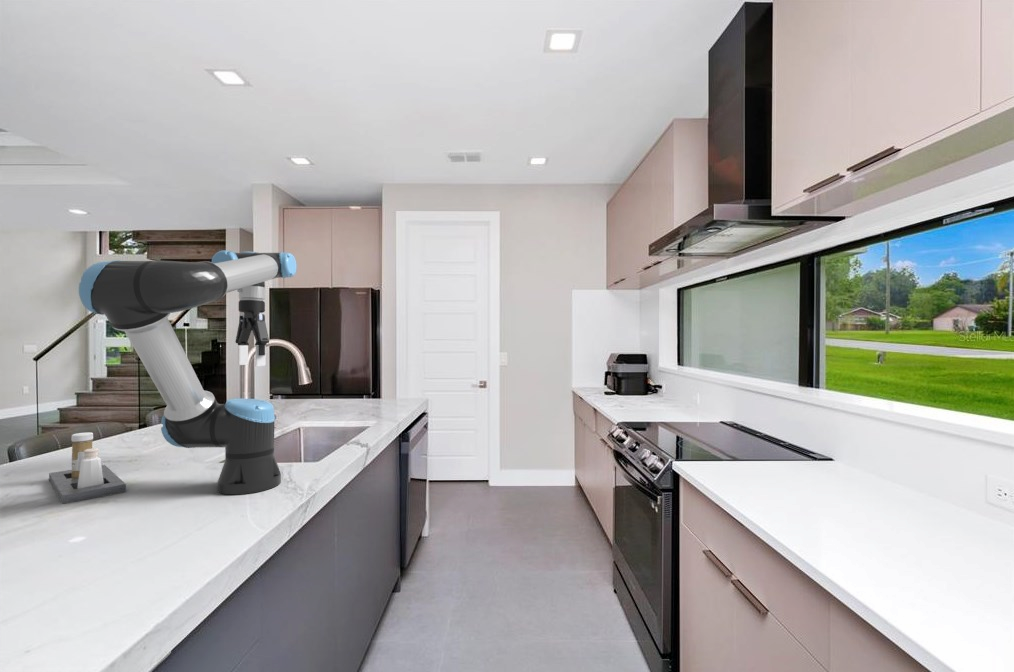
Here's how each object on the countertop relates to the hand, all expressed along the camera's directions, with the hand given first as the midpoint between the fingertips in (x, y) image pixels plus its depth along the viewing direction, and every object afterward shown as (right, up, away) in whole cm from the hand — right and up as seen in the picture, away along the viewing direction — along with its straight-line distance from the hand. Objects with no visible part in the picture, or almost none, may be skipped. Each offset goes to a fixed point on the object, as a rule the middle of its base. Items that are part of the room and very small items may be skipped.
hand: (251, 365), depth 149 cm
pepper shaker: (-27, -32, -28) cm, 50 cm away
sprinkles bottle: (-38, -32, -19) cm, 53 cm away
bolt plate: (-32, -31, -23) cm, 51 cm away
